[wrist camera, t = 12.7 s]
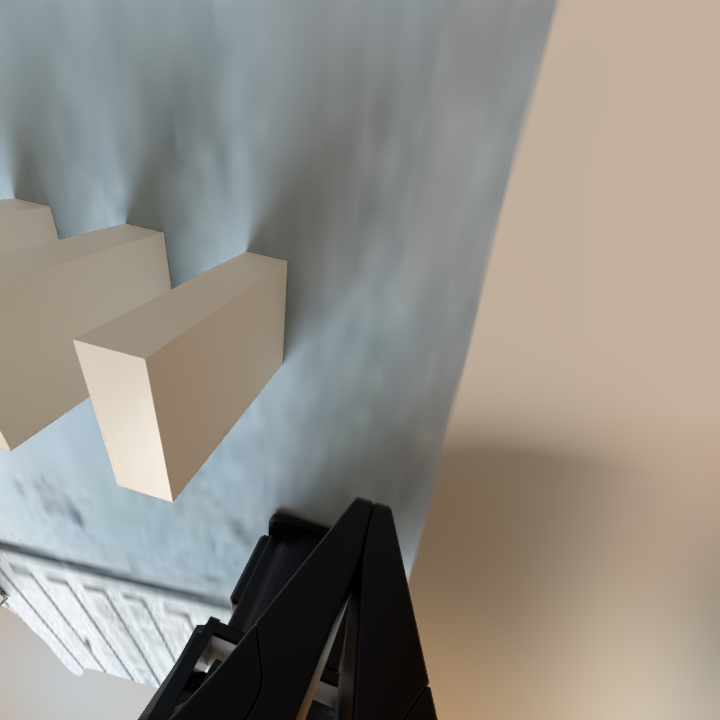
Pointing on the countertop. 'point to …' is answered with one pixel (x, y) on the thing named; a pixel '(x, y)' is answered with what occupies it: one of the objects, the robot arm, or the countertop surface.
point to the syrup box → (2, 597)
